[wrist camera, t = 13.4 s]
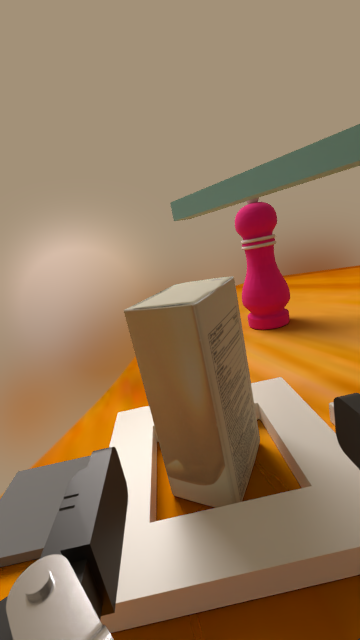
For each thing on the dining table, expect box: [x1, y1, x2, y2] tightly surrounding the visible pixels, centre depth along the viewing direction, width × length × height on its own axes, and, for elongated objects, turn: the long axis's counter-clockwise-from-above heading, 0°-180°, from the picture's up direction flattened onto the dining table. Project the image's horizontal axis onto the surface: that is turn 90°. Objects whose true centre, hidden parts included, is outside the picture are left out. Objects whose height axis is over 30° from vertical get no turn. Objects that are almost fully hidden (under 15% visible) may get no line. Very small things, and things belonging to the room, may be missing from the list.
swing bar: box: [171, 124, 360, 221], centre depth 22 cm, size 21×3×2 cm, turn 39°
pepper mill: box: [235, 197, 290, 330], centre depth 45 cm, size 7×7×20 cm
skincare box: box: [124, 277, 260, 508], centre depth 18 cm, size 6×4×12 cm
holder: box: [100, 377, 360, 633], centre depth 18 cm, size 24×15×17 cm, turn 94°
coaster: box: [0, 456, 91, 567], centre depth 19 cm, size 7×7×1 cm
